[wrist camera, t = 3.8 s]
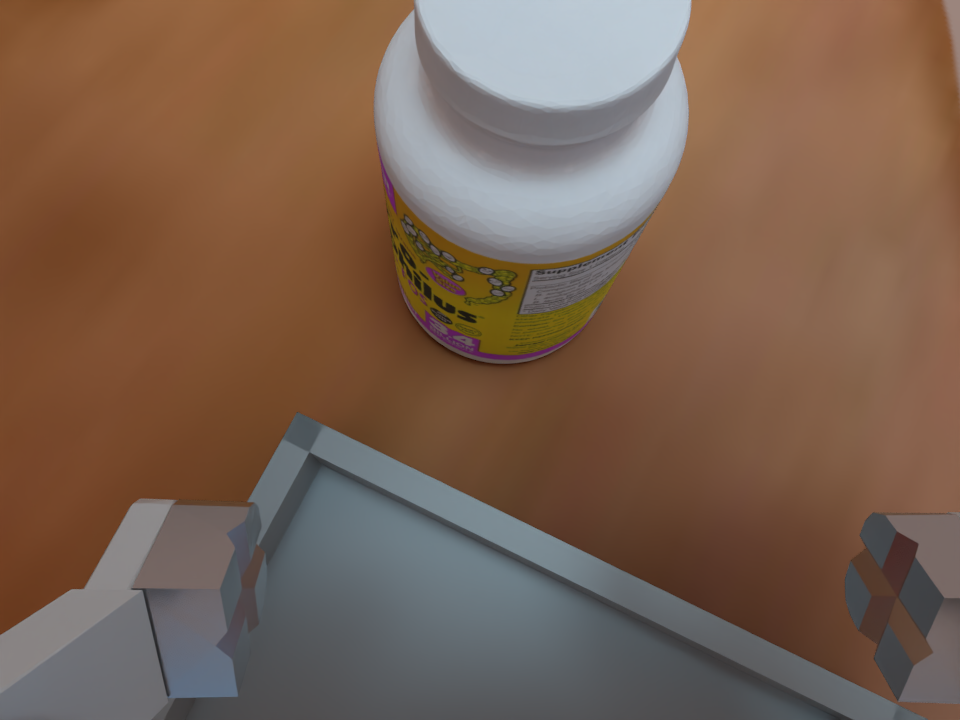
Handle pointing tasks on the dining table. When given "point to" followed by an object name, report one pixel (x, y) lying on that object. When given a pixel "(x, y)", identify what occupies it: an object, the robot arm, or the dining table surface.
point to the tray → (478, 616)
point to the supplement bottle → (525, 160)
